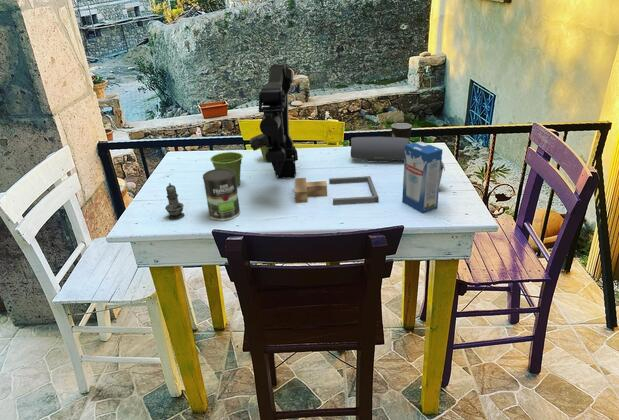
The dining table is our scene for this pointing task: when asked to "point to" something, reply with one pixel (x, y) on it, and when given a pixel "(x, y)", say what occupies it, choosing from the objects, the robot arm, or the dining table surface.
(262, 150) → the plant pot
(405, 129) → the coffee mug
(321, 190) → the t block
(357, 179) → the fence pocket
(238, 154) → the plant pot
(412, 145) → the milk carton
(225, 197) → the coffee can
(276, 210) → the dining table surface
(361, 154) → the bluetooth speaker
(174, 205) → the grey tall tiered piece
